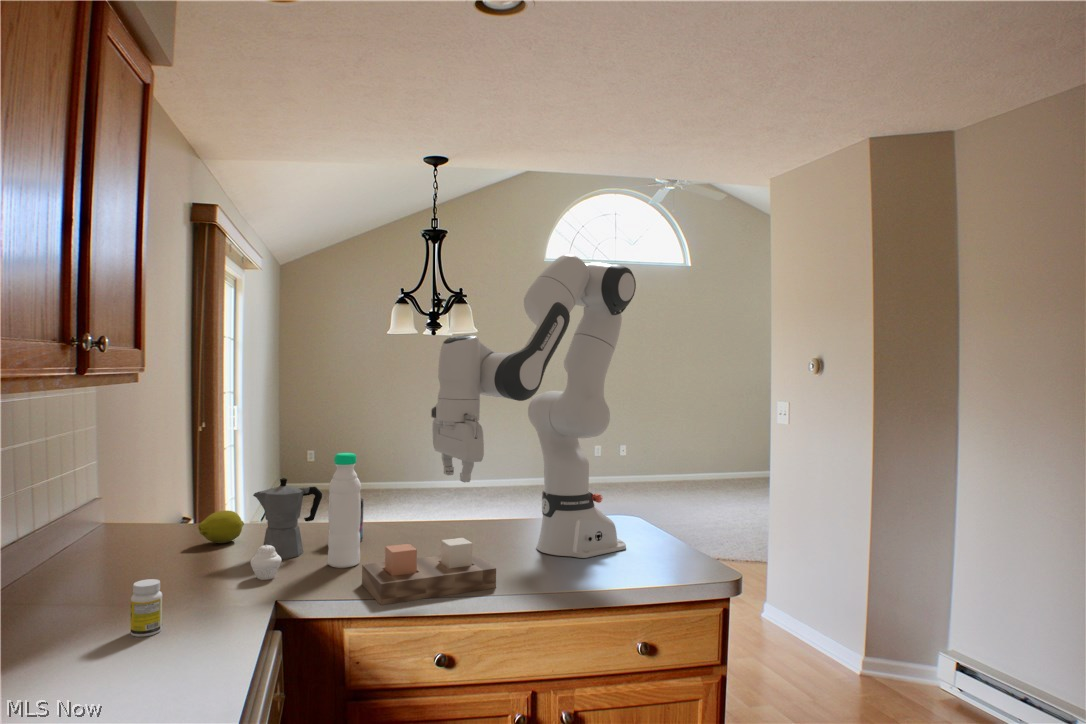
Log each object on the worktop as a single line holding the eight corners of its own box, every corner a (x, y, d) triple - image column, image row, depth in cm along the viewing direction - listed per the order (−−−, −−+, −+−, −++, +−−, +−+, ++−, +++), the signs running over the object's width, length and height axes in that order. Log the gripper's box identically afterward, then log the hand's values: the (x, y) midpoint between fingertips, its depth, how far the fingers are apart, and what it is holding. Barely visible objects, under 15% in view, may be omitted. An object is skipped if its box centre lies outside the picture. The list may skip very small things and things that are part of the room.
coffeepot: (252, 562, 164) (253, 483, 164) (252, 551, 173) (252, 476, 173) (323, 556, 170) (324, 479, 170) (319, 546, 179) (320, 473, 179)
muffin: (285, 578, 153) (286, 545, 153) (256, 584, 149) (257, 550, 149) (274, 571, 158) (275, 539, 158) (245, 576, 154) (246, 543, 154)
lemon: (240, 536, 187) (240, 505, 187) (248, 543, 180) (248, 511, 180) (194, 542, 180) (194, 510, 180) (201, 549, 174) (201, 516, 174)
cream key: (462, 560, 156) (463, 537, 156) (471, 567, 151) (472, 543, 151) (440, 563, 153) (441, 540, 153) (449, 570, 149) (449, 545, 149)
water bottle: (351, 569, 160) (352, 456, 160) (321, 567, 161) (323, 454, 161) (365, 560, 167) (366, 452, 167) (336, 558, 168) (338, 451, 168)
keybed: (469, 569, 161) (470, 551, 161) (495, 587, 149) (496, 568, 149) (361, 584, 150) (362, 564, 150) (380, 605, 138) (380, 584, 138)
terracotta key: (408, 567, 150) (409, 543, 150) (416, 574, 146) (416, 549, 145) (384, 570, 148) (385, 546, 148) (392, 577, 143) (392, 552, 143)
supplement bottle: (138, 627, 125) (139, 578, 125) (167, 626, 125) (167, 577, 125) (124, 637, 120) (125, 587, 120) (154, 637, 120) (155, 586, 120)
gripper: (492, 416, 144) (490, 485, 144) (455, 408, 163) (453, 470, 163) (463, 416, 142) (461, 487, 142) (428, 409, 160) (426, 471, 160)
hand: (456, 478), depth 152 cm, fingers open, 8 cm apart
